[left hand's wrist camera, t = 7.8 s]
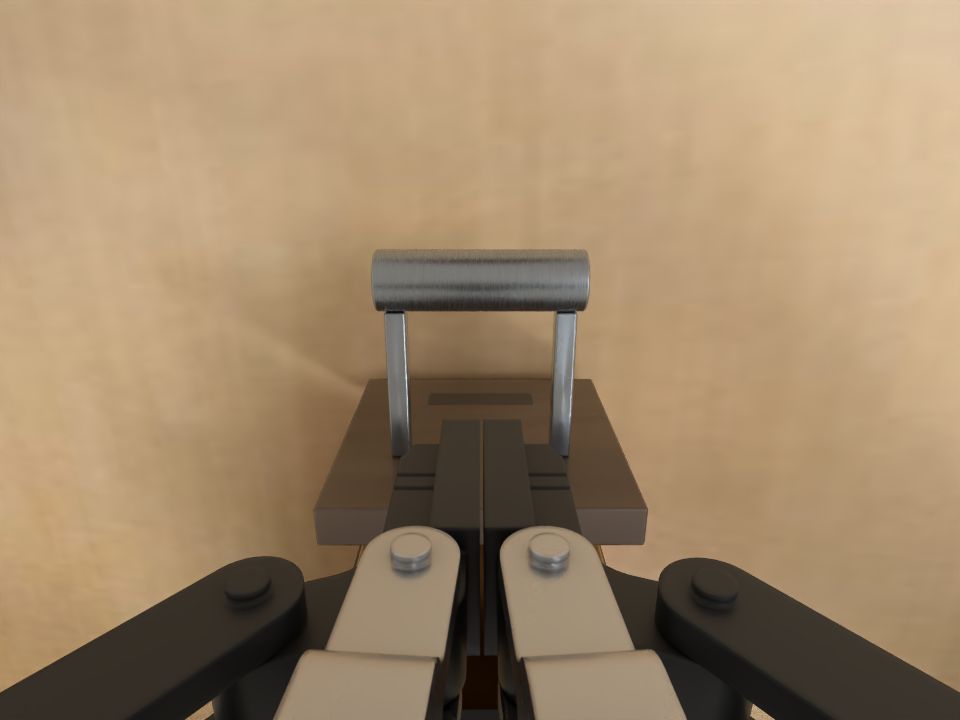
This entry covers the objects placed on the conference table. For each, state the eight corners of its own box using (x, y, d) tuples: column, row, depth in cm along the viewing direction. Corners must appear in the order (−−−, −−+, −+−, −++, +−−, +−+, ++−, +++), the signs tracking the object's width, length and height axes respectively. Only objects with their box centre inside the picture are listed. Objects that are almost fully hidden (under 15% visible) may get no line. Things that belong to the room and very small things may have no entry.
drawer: (358, 218, 23) (286, 274, 14) (602, 218, 23) (674, 274, 14) (392, 744, 32) (362, 967, 24) (567, 744, 32) (598, 966, 24)
